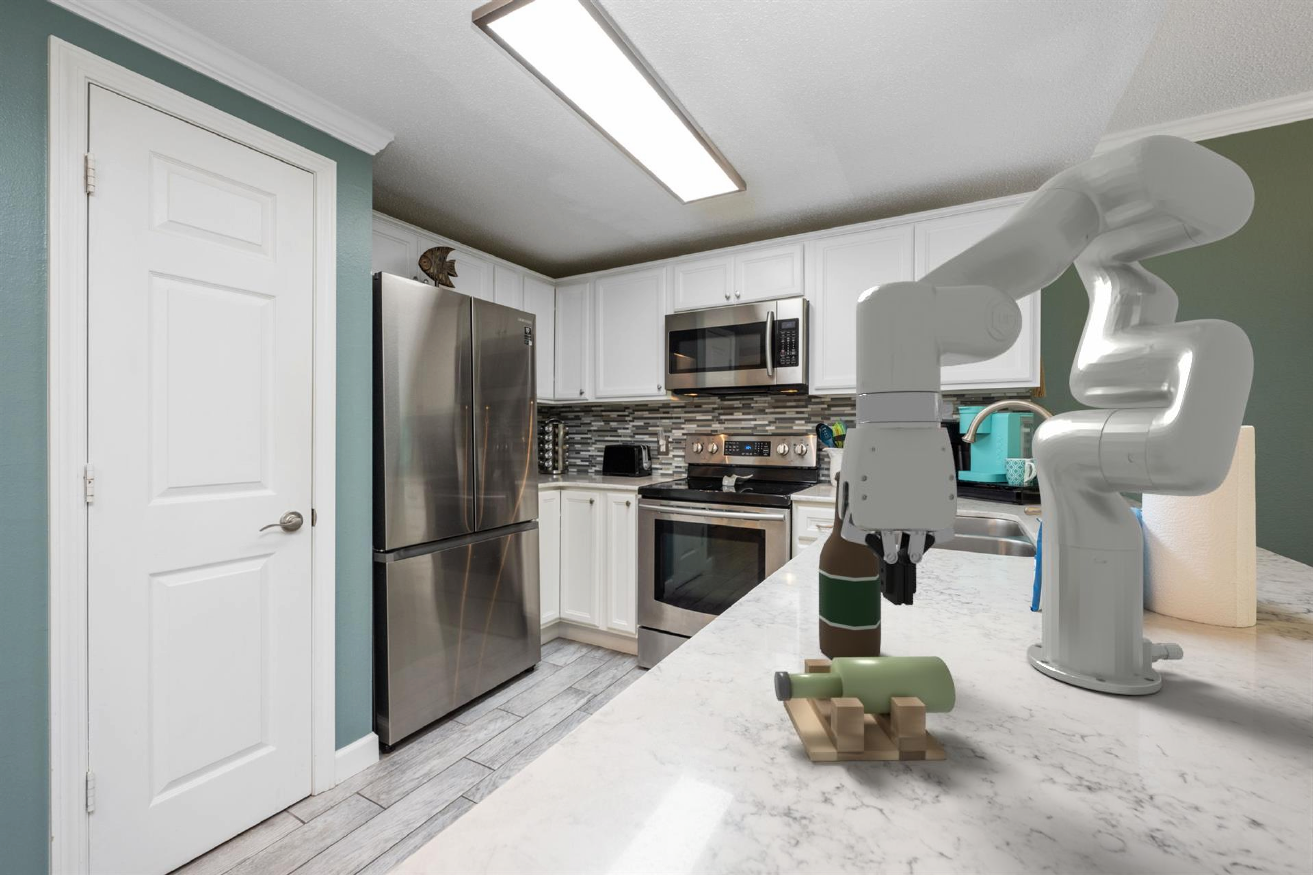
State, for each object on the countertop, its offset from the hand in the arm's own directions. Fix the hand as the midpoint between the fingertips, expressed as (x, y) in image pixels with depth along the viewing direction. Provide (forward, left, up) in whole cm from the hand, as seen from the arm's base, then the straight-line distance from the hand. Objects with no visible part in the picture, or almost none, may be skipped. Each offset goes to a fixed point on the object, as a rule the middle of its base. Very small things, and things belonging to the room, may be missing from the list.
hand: (897, 600), depth 52 cm
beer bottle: (-2, -18, -13) cm, 22 cm away
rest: (+4, 0, -13) cm, 13 cm away
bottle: (-4, 0, -8) cm, 9 cm away
